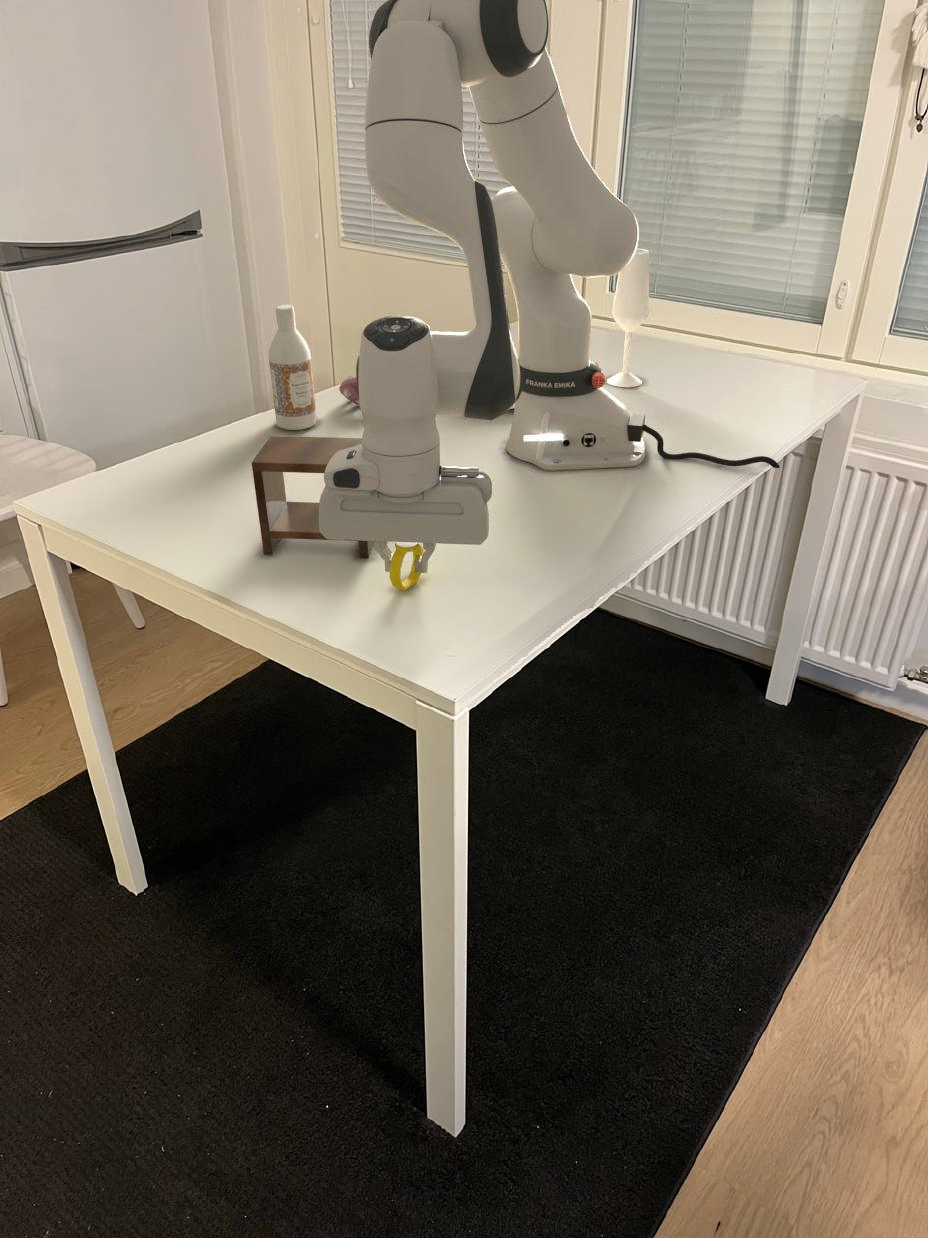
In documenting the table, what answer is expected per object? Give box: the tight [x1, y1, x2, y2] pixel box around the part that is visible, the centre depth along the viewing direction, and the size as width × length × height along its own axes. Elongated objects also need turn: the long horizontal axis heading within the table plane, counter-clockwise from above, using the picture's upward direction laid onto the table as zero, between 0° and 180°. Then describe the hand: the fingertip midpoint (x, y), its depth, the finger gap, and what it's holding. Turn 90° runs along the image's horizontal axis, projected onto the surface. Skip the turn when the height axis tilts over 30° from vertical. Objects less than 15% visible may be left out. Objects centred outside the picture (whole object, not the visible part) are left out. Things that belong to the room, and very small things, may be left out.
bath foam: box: [268, 304, 317, 431], centre depth 160 cm, size 7×7×20 cm
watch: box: [389, 542, 424, 591], centre depth 117 cm, size 6×3×6 cm, turn 152°
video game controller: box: [338, 375, 360, 407], centre depth 172 cm, size 10×5×7 cm, turn 68°
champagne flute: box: [606, 247, 650, 388], centre depth 178 cm, size 7×7×24 cm
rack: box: [251, 435, 374, 559], centre depth 125 cm, size 14×9×13 cm, turn 85°
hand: (406, 570), depth 117 cm, fingers closed on watch, 2 cm apart
